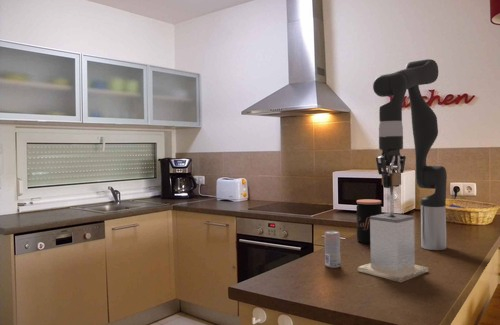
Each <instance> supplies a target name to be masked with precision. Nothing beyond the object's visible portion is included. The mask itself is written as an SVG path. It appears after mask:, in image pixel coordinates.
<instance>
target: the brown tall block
mask: <svg viewBox="0 0 500 325" xmlns="http://www.w3.org/2000/svg"><path fill="white" fill-rule="evenodd" d="M389 177H391V187H390V188H389V213H390V217H394V214H395V207H394V206H395V203H394V202H395V199H394V198H395V196H394V194H395V193H394V187H393V186H395V185H399V186H401V185H402V173H399V172H392V171H391V174H390V176H389ZM383 182H384V181H383V176H382V175H381V185H382V186H384V185H383Z"/></svg>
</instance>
